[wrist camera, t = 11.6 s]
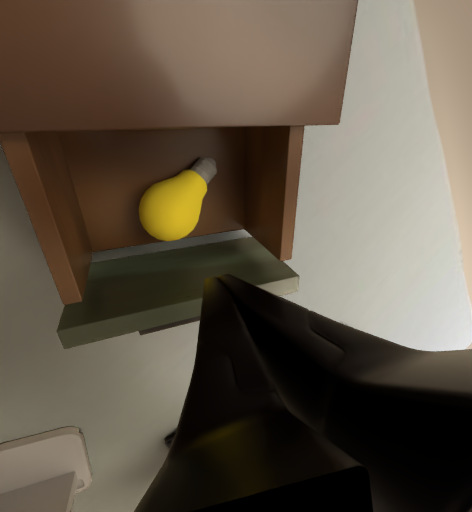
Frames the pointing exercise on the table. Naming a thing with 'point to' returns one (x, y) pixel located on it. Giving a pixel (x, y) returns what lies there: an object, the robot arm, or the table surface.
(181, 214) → the light bulb
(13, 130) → the cabinet
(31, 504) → the phone holder
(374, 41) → the table surface
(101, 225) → the drawer
